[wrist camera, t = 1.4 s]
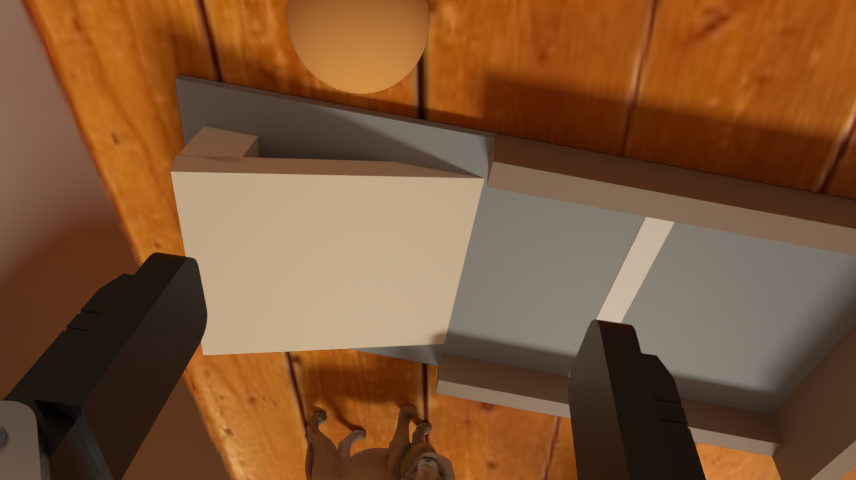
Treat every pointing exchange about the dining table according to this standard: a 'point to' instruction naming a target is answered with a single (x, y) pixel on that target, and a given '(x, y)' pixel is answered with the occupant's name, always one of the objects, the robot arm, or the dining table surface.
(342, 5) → the rubber ball
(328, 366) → the dining table surface
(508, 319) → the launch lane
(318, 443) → the lion figurine
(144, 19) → the dining table surface
